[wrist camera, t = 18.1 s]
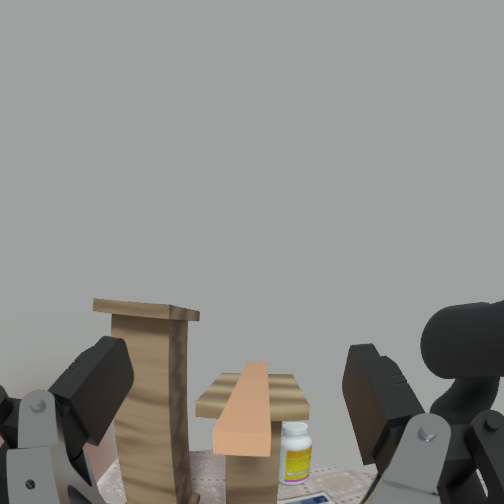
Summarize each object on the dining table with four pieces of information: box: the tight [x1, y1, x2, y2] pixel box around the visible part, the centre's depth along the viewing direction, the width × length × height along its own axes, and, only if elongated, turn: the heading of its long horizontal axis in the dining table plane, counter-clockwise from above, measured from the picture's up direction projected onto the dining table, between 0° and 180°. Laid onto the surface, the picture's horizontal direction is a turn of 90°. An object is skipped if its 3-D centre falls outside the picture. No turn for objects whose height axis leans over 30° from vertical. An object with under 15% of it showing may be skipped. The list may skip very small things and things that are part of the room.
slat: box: [213, 362, 271, 457], centre depth 25 cm, size 28×3×2 cm, turn 177°
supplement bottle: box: [278, 422, 312, 485], centre depth 41 cm, size 7×7×13 cm
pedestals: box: [93, 298, 309, 504], centre depth 28 cm, size 18×24×34 cm
